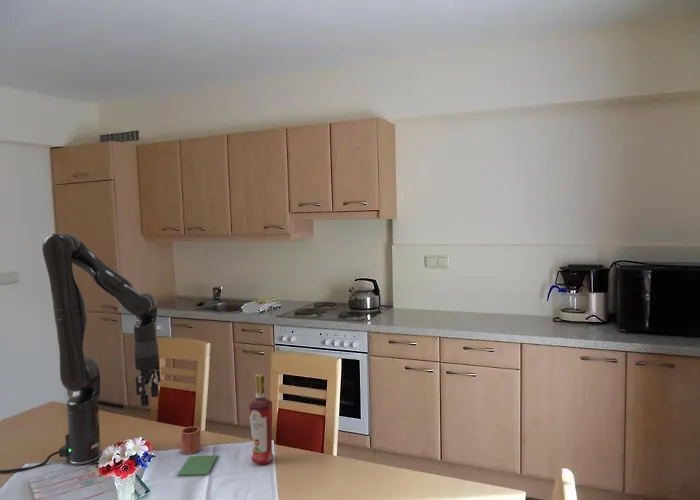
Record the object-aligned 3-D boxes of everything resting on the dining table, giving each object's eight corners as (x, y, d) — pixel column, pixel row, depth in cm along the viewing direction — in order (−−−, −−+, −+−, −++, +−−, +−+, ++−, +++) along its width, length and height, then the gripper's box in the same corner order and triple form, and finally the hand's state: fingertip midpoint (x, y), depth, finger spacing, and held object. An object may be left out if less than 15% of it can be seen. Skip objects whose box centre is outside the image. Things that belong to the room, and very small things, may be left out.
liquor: (246, 464, 158) (243, 377, 157) (258, 454, 165) (255, 371, 163) (267, 468, 155) (263, 379, 154) (278, 457, 162) (275, 373, 161)
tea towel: (178, 476, 152) (178, 474, 152) (190, 458, 164) (190, 456, 164) (207, 475, 152) (207, 473, 152) (217, 457, 164) (217, 455, 164)
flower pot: (179, 454, 166) (178, 433, 166) (185, 446, 173) (184, 426, 172) (197, 453, 167) (196, 433, 166) (203, 445, 173) (202, 426, 172)
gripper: (144, 348, 173) (147, 394, 173) (125, 359, 158) (129, 409, 159) (165, 347, 173) (169, 393, 173) (149, 358, 158) (153, 408, 159)
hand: (150, 401), depth 166 cm, fingers open, 8 cm apart
